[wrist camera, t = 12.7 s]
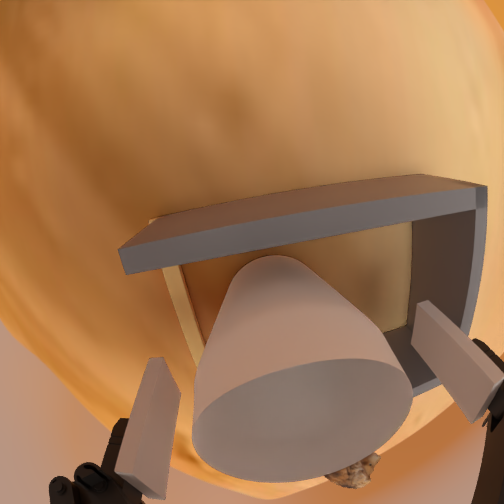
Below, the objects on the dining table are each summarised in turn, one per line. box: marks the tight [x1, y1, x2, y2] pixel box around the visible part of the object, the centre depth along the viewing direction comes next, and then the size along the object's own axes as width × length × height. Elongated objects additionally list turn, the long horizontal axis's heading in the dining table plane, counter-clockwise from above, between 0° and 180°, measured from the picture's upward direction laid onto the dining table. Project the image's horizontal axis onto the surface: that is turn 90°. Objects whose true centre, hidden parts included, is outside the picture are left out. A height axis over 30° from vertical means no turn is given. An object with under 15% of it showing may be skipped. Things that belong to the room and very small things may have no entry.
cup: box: [192, 255, 413, 483], centre depth 14 cm, size 9×9×12 cm
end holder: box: [118, 174, 487, 397], centre depth 16 cm, size 14×20×7 cm
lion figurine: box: [324, 452, 381, 489], centre depth 20 cm, size 15×5×9 cm, turn 51°
